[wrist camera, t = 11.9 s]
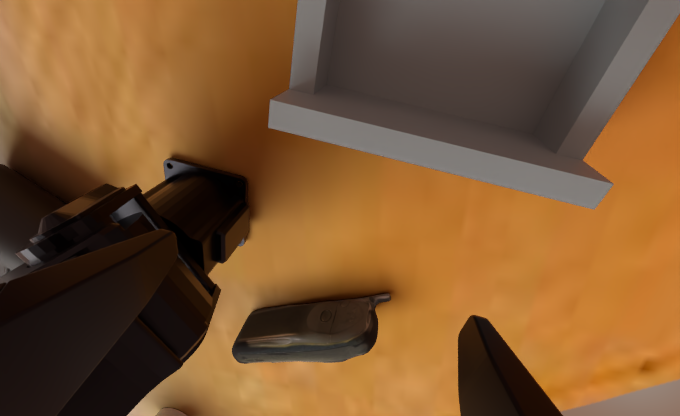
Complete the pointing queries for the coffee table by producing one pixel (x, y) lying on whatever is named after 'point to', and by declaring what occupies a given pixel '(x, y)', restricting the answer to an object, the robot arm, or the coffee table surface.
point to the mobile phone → (310, 332)
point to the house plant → (170, 412)
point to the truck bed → (471, 83)
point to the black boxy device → (20, 215)
